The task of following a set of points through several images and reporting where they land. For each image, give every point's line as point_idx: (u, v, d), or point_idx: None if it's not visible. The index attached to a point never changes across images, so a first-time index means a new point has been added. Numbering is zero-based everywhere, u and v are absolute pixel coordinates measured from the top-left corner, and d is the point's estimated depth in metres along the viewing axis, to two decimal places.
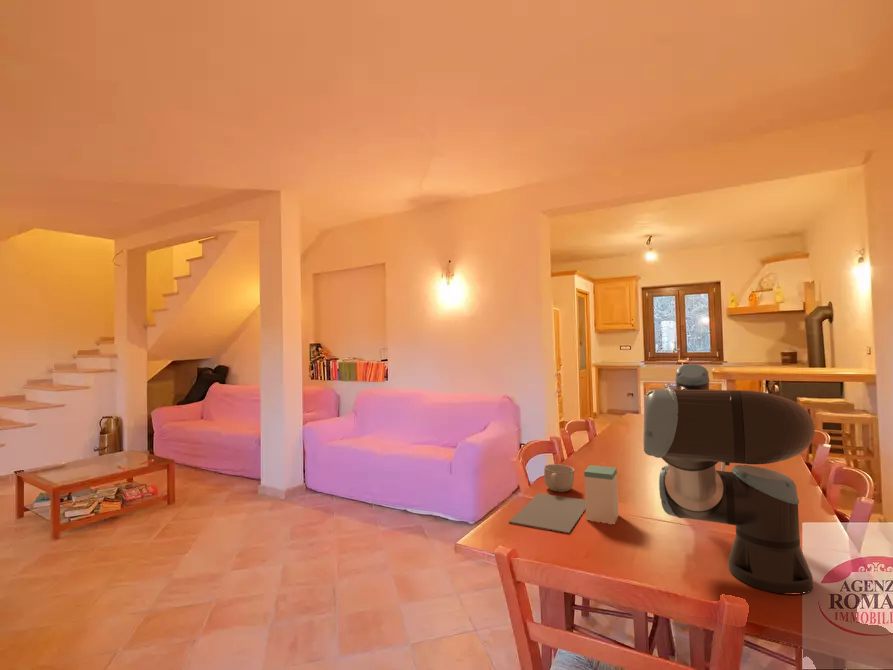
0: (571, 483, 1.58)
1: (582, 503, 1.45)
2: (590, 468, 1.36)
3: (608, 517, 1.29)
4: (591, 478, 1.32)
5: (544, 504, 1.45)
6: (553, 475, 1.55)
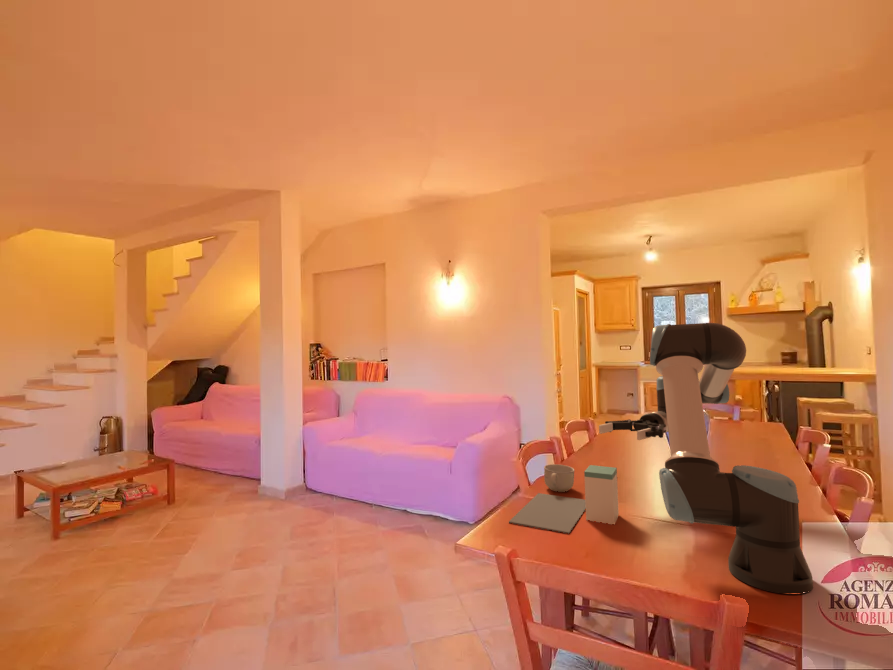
0: (571, 483, 1.58)
1: (582, 503, 1.45)
2: (590, 468, 1.36)
3: (608, 517, 1.29)
4: (591, 478, 1.32)
5: (544, 504, 1.45)
6: (553, 475, 1.55)
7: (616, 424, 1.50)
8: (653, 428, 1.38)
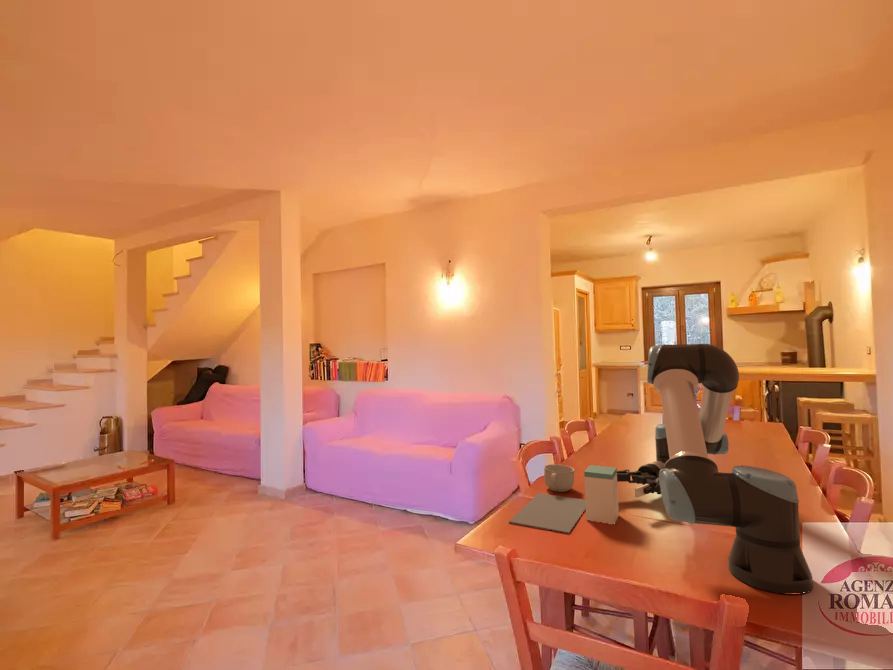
0: (571, 483, 1.58)
1: (582, 503, 1.45)
2: (590, 468, 1.36)
3: (608, 517, 1.29)
4: (591, 478, 1.32)
5: (544, 504, 1.45)
6: (553, 475, 1.55)
7: None
8: (651, 484, 1.36)
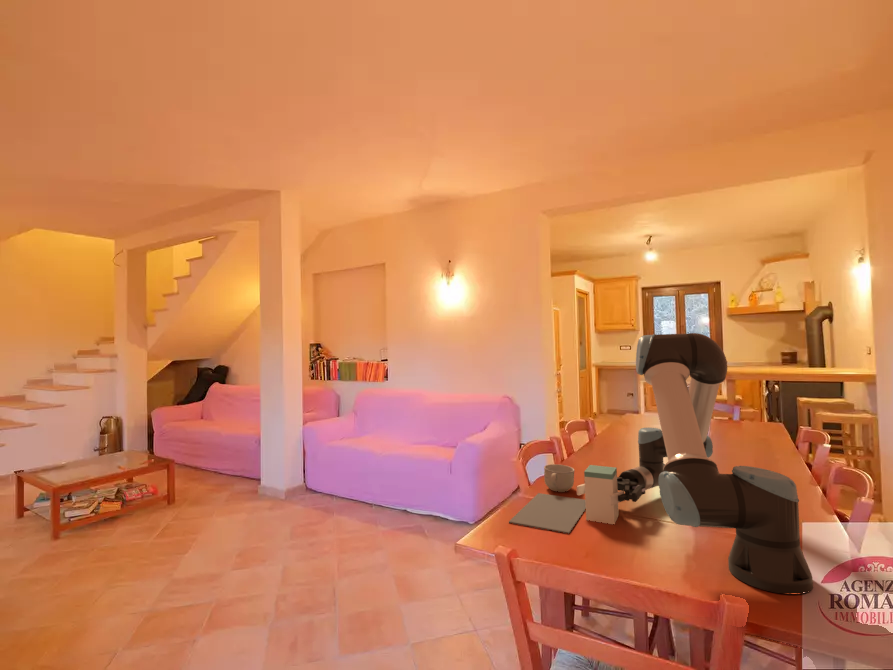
0: (571, 483, 1.58)
1: (582, 503, 1.45)
2: (590, 468, 1.36)
3: (608, 517, 1.29)
4: (591, 478, 1.32)
5: (544, 504, 1.45)
6: (553, 475, 1.55)
7: None
8: (626, 491, 1.30)
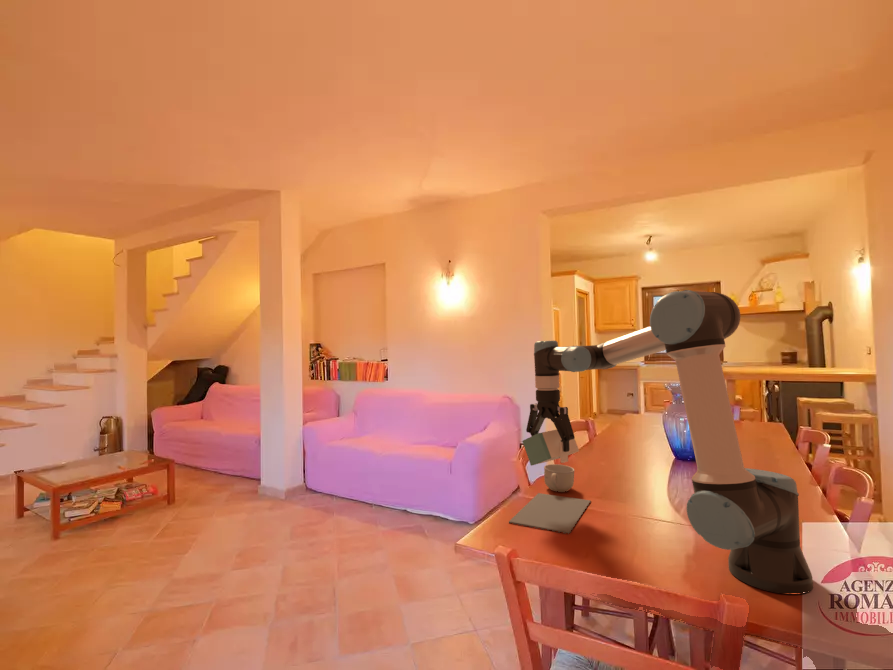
0: (571, 483, 1.58)
1: (582, 503, 1.45)
2: (528, 452, 1.39)
3: (572, 453, 1.41)
4: (539, 463, 1.38)
5: (544, 504, 1.45)
6: (553, 475, 1.55)
7: (535, 430, 1.44)
8: (563, 441, 1.34)
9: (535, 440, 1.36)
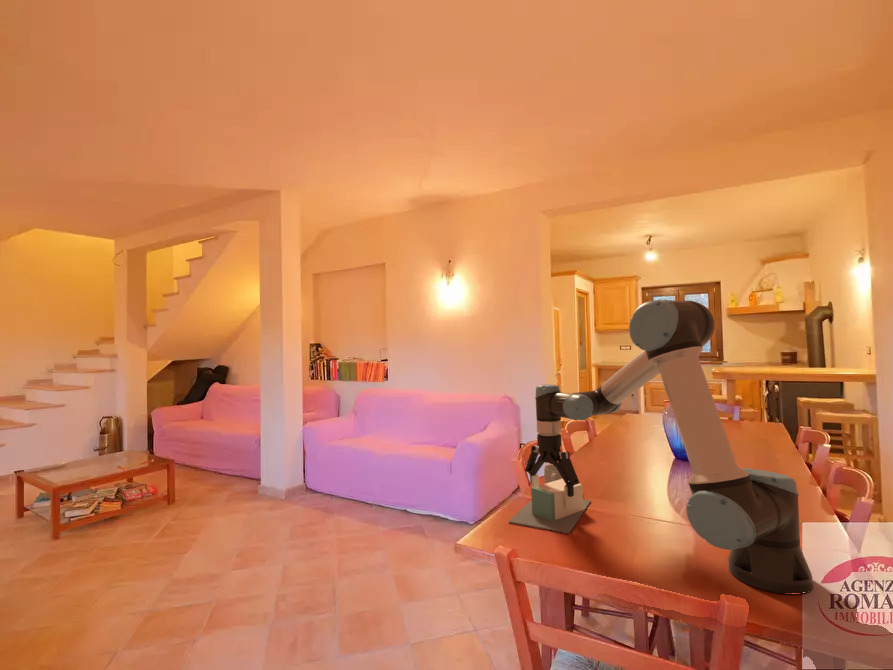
0: None
1: None
2: (533, 501, 1.37)
3: None
4: None
5: None
6: (553, 475, 1.55)
7: (535, 470, 1.45)
8: (567, 486, 1.33)
9: (545, 497, 1.33)
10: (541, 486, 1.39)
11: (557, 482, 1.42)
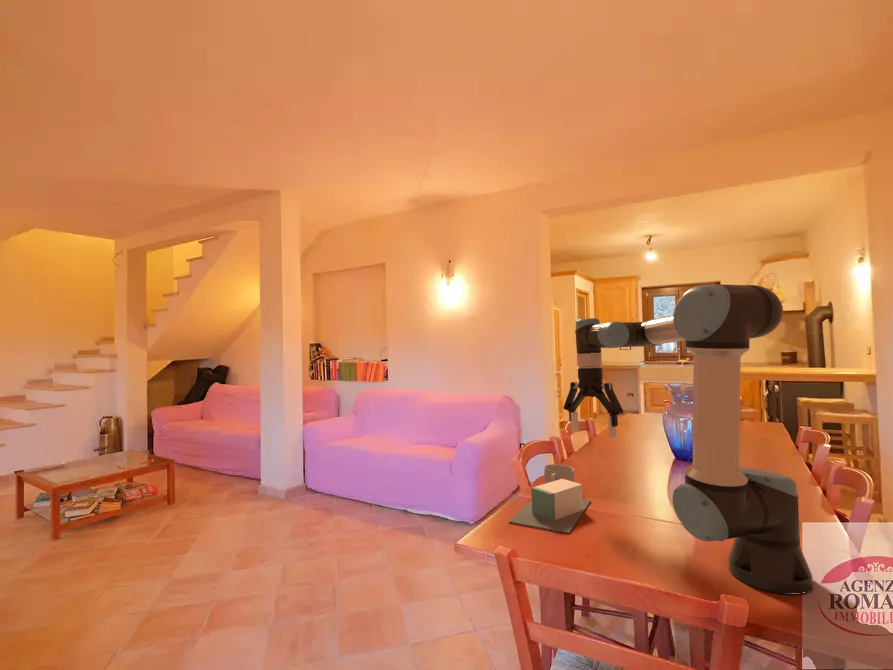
0: None
1: None
2: (533, 501, 1.37)
3: None
4: None
5: None
6: (553, 475, 1.55)
7: (574, 407, 1.44)
8: (612, 416, 1.33)
9: (545, 497, 1.33)
10: (541, 486, 1.39)
11: (557, 482, 1.42)
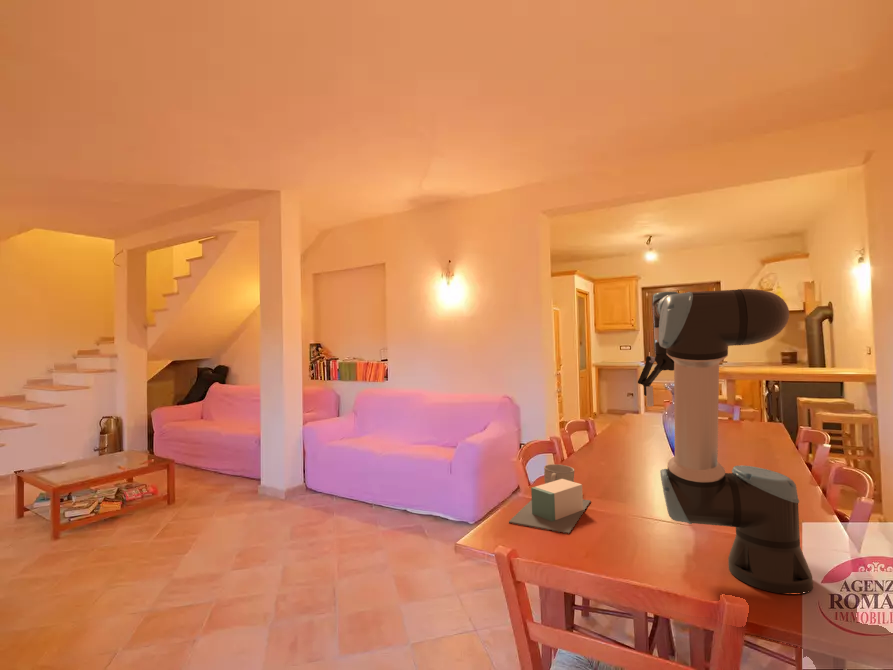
0: None
1: None
2: (533, 501, 1.37)
3: None
4: None
5: None
6: (553, 475, 1.55)
7: (650, 381, 1.44)
8: None
9: (545, 497, 1.33)
10: (541, 486, 1.39)
11: (557, 482, 1.42)
